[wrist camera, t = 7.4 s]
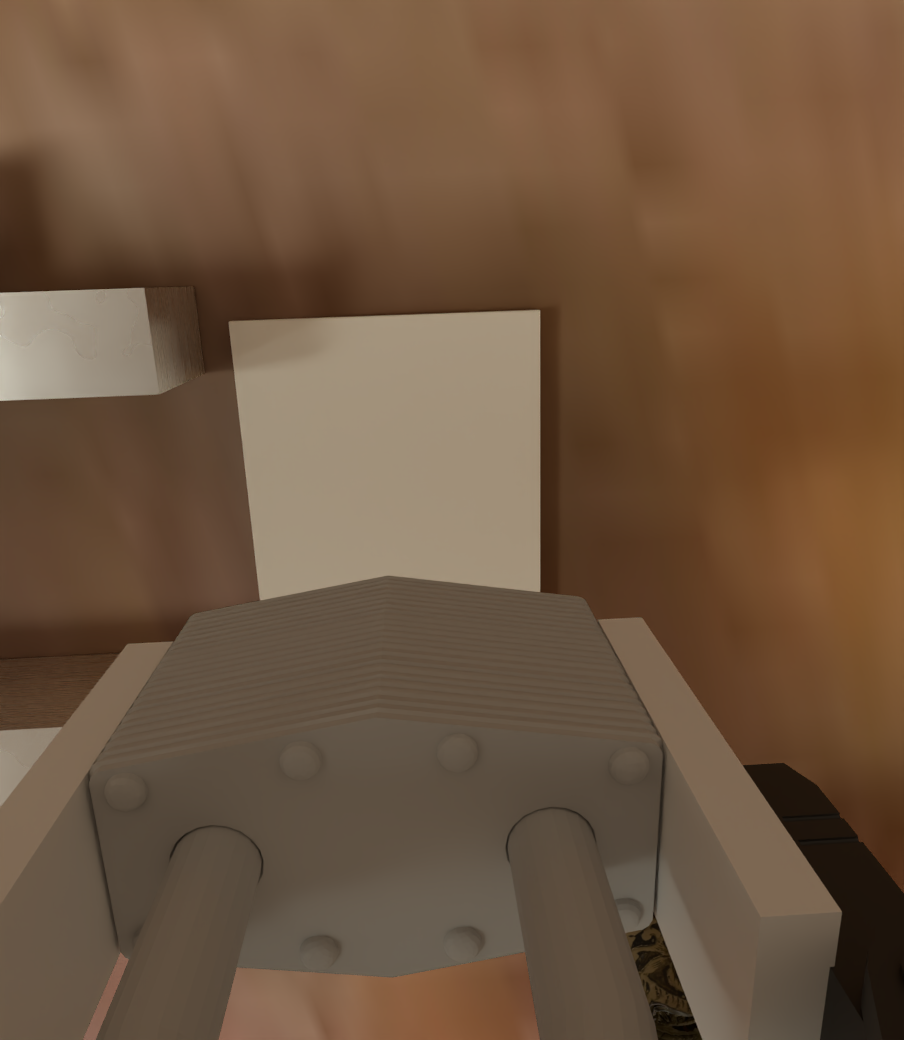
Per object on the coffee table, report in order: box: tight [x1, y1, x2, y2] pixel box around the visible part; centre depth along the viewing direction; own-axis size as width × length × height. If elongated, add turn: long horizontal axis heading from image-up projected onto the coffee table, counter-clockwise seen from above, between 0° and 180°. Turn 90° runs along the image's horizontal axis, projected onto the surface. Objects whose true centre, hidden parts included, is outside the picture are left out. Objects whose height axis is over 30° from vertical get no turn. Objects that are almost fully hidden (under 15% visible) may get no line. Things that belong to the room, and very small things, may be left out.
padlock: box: [89, 576, 663, 1040], centre depth 10 cm, size 7×4×10 cm, turn 91°
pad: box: [228, 310, 540, 600], centre depth 25 cm, size 9×12×1 cm
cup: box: [625, 912, 702, 1040], centre depth 26 cm, size 8×7×8 cm
